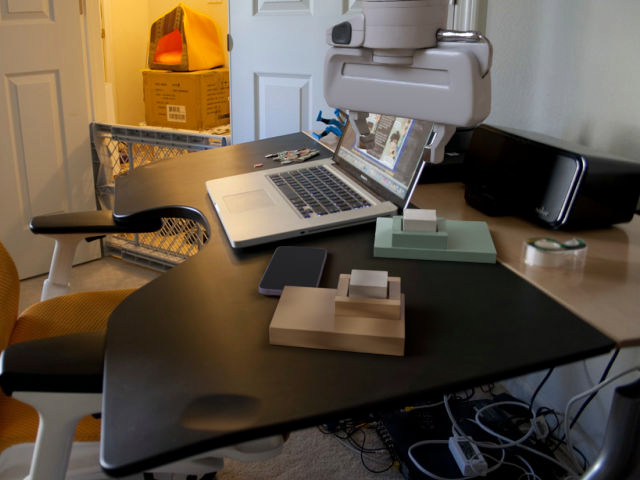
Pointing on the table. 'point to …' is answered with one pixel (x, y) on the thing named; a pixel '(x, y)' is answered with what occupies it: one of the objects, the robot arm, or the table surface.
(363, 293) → the key front
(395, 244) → the tiered green tray
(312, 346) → the wooden platform
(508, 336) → the table surface
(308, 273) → the smartphone
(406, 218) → the key back
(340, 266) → the table surface
